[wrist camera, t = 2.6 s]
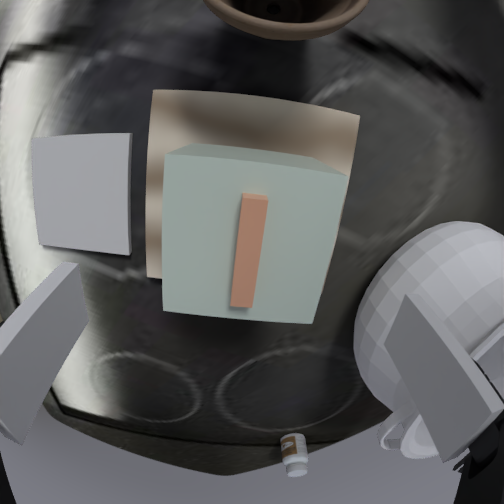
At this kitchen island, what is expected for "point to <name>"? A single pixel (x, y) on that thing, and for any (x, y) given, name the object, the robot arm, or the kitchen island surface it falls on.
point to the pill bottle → (294, 454)
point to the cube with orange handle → (247, 232)
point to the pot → (446, 308)
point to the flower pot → (287, 16)
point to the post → (238, 139)
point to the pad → (83, 191)
